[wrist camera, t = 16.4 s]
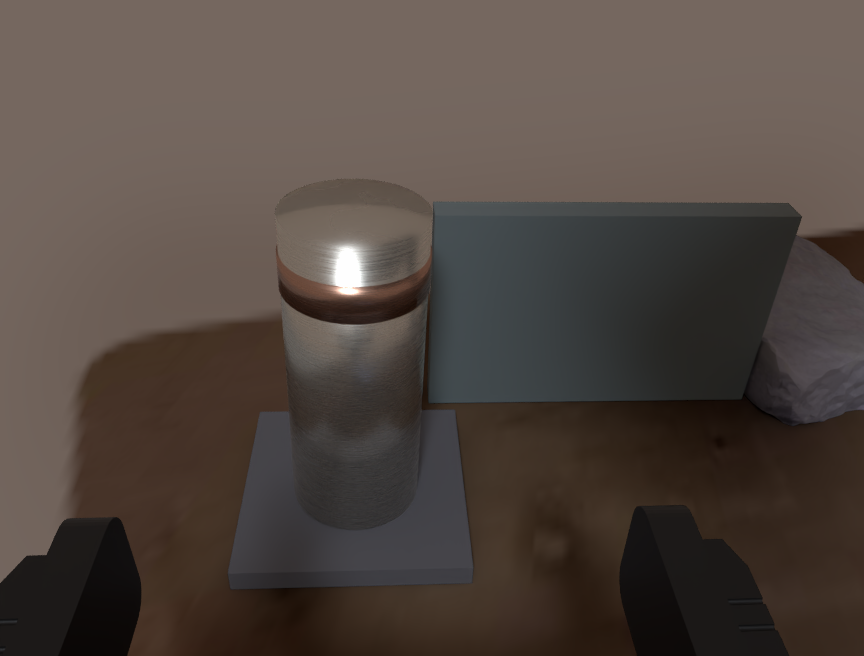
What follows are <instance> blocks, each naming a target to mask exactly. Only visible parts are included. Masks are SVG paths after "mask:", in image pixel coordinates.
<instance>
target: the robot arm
mask: <svg viewBox="0 0 864 656" xmlns="http://www.w3.org/2000/svg"><path fill="white" fill-rule="evenodd" d="M620 593H621V599H622V604H623V608H624V611H625V615H626V618H627V622H628V625H629V629H630V632H631V636H632V639H633V643H634V646H635V650H636V653H637V656H789V654H788V652H787V650H786V648H785V646H784V643H783V641H782V639H781V637H780V635H779V633H778V630H777V631H776V630H775V628H774V622H773V620H772V617H771V615H770V613H769V611H768V609H767V607H766V604H763V602H762V596H761V594H760V591H759V589H758V587H757V585H756V583H755V581H754V578H753V576H752V574H751V572H750V570H749V568H748V566H747V565H746V564H745V563H744V562H743V561H742V559H741V558H740V557H739V556H738V555H737V554H736V553H735V552H734V551H733V550H732V549H731V548H730V547H729V546H728V545H727V544H726V543H725V542H724V540H723V539H703V540H702V537H701V535H700V532H699V530H698V528H697V525H696V523H695V521H694V518H693V516H692V514H691V512H690V510H689V509H688V508H687V507H686V506H684V505H668V506H638V507H636V509H635V510H634V513H633V517H632V521H631V525H630V529H629V533H628V537H627V541H626V545H625V549H624V553H623V557H622V561H621V566H620ZM140 606H141V581H140V577H139V573H138V570H137V567H136V564H135V561H134V558H133V555H132V551H131V548H130V545H129V542H128V539H127V536H126V533H125V530H124V526H123V524H122V522H121V520H120V519H119V518H117V517H108V518H69V519H66V520H64V521H63V522H62V524H61V525H60V527H59V529H58V531H57V533H56V535H55V537H54V540H53V542H52V544H51V546H50V549H49V551H48V553H47V555H38V556H26V557H25V558H24V559H23V560H22V561H21V562H20V563H19V564H18V565H17V566H16V568H15V569H14V570H13V571H12V572H11V573H10V574H9V575H8V576H7V577H6V578H5V579H4V580H3V581H2V582H1V583H0V656H127V654H128V651H129V648H130V644H131V641H132V638H133V634H134V631H135V628H136V624H137V621H138V617H139V612H140Z"/></svg>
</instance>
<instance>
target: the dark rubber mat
mask: <svg viewBox="0 0 864 656" xmlns="http://www.w3.org/2000/svg"><path fill="white" fill-rule="evenodd" d="M228 578H229V584H230V589H265V588H304V587H343V586H382V585H421V584H460V583H472V578H473V560H472V551H471V543H470V534H469V526H468V517H467V509H466V500H465V492H464V483H463V475H462V467H461V458H460V450H459V441H458V433H457V424H456V416H455V410H421V427H420V444H419V462H418V480H417V490H416V494H415V497H414V499H413V501H412V503H411V504H410V506H409V507H408V508H407V509H406V511H404V512H403V513H402V514H401V515H400V516H398V517H397V518H396V519H394V520H392V521H390V522H388V523H386V524H384V525H381V526H378V527H374V528H370V529H364V530H344V529H337V528H334V527H330V526H327V525H325V524H322V523H320V522H318V521H316V520H315V519H313V518H312V517H310V516H309V515H308V514H307V513H306V512H305V511H304V510H303V509H302V507H301V506H300V504H299V503H298V501H297V498H296V495H295V489H294V476H293V462H292V448H291V433H290V419H289V412H260V415H259V420H258V425H257V430H256V435H255V440H254V445H253V450H252V455H251V460H250V465H249V470H248V475H247V480H246V485H245V490H244V495H243V500H242V505H241V510H240V515H239V520H238V525H237V530H236V535H235V540H234V545H233V550H232V555H231V560H230V565H229V570H228Z"/></svg>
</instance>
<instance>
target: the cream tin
mask: <svg viewBox="0 0 864 656" xmlns="http://www.w3.org/2000/svg"><path fill="white" fill-rule="evenodd" d="M432 215H433V212H432V208H431V207H430V205H429V203H428V202H427V201H426V200H425V199H424V198H423V197H422V196H420V195H419V194H417V193H415V192H413V191H411V190H409V189H407V188H404V187H402V186H399V185H395V184H391V183H387V182H382V181H376V180H367V179H337V180H328V181H322V182H317V183H313V184H309V185H306V186H304V187H301V188H298V189H296V190H294V191H292V192H290V193H289V194H287V195H286V196H284V197H283V198H282V199H281V200H280V201H279V203H278V204H277V206H276V209H275V220H276V235H277V246H276V259H277V273H278V287H279V292H280V294H281V306H282V320H283V334H284V348H285V362H286V377H287V391H288V405H289V419H290V433H291V448H292V462H293V476H294V489H295V495H296V498H297V501H298V503H299V504H300V506H301V507H302V509H303V510H304V511H305V512H306V513H307V514H308V515H309V516H310V517H312V518H313V519H315V520H316V521H318V522H320V523H322V524H325V525H327V526H330V527H334V528H337V529H344V530H364V529H370V528H374V527H378V526H381V525H384V524H386V523H388V522H390V521H392V520H394V519H396V518H397V517H398V516H400V515H401V514H402V513H403V512H404V511H406V509H407V508H408V507H409V506H410V504H411V503H412V501H413V499H414V497H415V494H416V490H417V480H418V462H419V444H420V427H421V409H422V392H423V374H424V357H425V339H426V321H427V304H428V294H429V290H430V280H431V263H432V246H431V234H432Z"/></svg>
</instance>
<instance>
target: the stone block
mask: <svg viewBox="0 0 864 656" xmlns="http://www.w3.org/2000/svg"><path fill="white" fill-rule="evenodd" d="M744 394H745V395H746V397H747V398H748V399H749V400H750V401H751V402H752V403H753V404H755V405H756V406H757V407H758V408H760V409H761V410H763V411H765V412H766V413H768V414H771V415H773V416H775V417H776V418H777V419H778V420H780V421H781V422H782V423H784V424H787V425H791V426H795V425H798V424H799V423H800V424H807V423H812V422H818V421H820V422H823V421H825V420H827V419H829V418H833V417H837V416H840V415H842V414H843V413H844V412H847V411H853V410H864V284H863V283H862V282H860V281H858V280H856V279H855V278H854V277H853V276H852V275H851V274H850V272H849V270H848V269H847V268H846V267H845V266H843V265H842V264H841V263H840V262H839V261H838V260H836V259H835V258H834V257H832V256H831V255H829V254H828V253H827V252H825V251H824V250H822V249H821V248H819V247H818V246H817V245H816V244H815V243H813V242H810V241H808V240H806V239H803V238H801V237H799V236H797V235H796V237H795V240H794V243H793V246H792V249H791V252H790V255H789V258H788V261H787V264H786V267H785V270H784V273H783V276H782V279H781V282H780V285H779V288H778V291H777V294H776V297H775V300H774V303H773V306H772V309H771V312H770V315H769V318H768V321H767V324H766V327H765V330H764V333H763V336H762V339H761V342H760V345H759V348H758V351H757V354H756V357H755V360H754V363H753V366H752V369H751V372H750V375H749V378H748V381H747V384H746V387H745V390H744Z"/></svg>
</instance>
